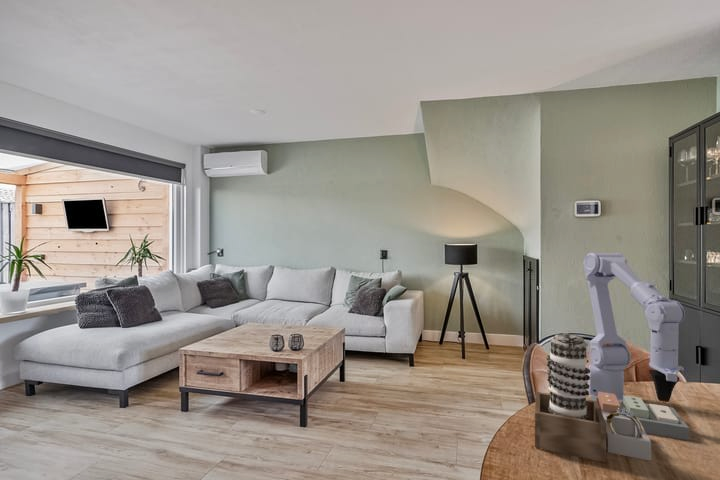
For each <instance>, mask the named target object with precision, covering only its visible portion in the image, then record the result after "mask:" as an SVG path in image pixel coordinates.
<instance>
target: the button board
mask: <svg viewBox="0 0 720 480" xmlns="http://www.w3.org/2000/svg"><path fill="white" fill-rule="evenodd" d="M590 400H593V401H598V396H592V395H591V397H590ZM617 400H618V399H617ZM618 402H619V404H620V406H621V409H623V408H624V406H623V400H618ZM644 404H645V405H646V407H647V408H648V410H649V419H645V418H639V417H636V418H637V419H638V420H639V421H640V423H641V425H642V427H643V428H644V430H645V432H646V434H650V435H656V436H657V435H658V436H662V437H666V438H667V437H668V438H673V439H679V440H683V441H690V427H689V426H688V424H686V422H685V421H684V420H683V418H682V417H681V416H680V414H679V413H678V412H677V410H675V408H674V407H670V406H668V407H669V409H670V410H671V411H672V413H673V414H674V415H675V416H676V418H677V419H678V420H679V423H678V424H675V423H669V422H663V421H657V420H656V418H655V417H654V415H653V414H652V412H651V410H650V409H649V406H650V404H651V403H645V402H644ZM601 412H602V411H601ZM602 414H608V415H610V414H611V413H608V412H602ZM619 416H620V417H626V416H621V415H619ZM626 418H628V417H626Z"/></svg>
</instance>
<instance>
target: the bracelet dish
mask: <svg viewBox="0 0 720 480" xmlns="http://www.w3.org/2000/svg"><path fill="white" fill-rule="evenodd" d="M608 416H609V415H608V414H603V417H604V420H605V423H606V452H607V453H608V454H609V453H610V454H614V455H621V456H625V457H631V458H635V459H639V460H645V461H650V462H651V461H652V441H651V440H650V438H649V436H648V433H646V432H645V430H644V428H643V427H642V433H641V438H636V436H637V428H636V426H635V424H634V422H633V421H632V420H631V419H630V418H626V417H620V416H615V417H613V418H612V421H611V423H612V427H613V429H614V431H615V432H616V433H617V434H613V433H612V431H611V428H610V426H609V423H608V422H607V417H608ZM638 421H639V420H638ZM639 422H640V421H639ZM640 424H641V423H640ZM641 426H642V425H641Z"/></svg>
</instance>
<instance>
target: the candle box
mask: <svg viewBox="0 0 720 480" xmlns="http://www.w3.org/2000/svg"><path fill="white" fill-rule="evenodd" d="M549 406H550V393H547V392H541V391H535V408H534V410H535V411H534V412H535V413H534V448H535V447H537V448H536V449H539V448H542V449H541V450H544V449H546V450H545V451H549V450H550V452H554V453H560V454H563V453H564V455H568V456H574V457H578V458H583V459H588V460H593V461H597V462H603V463H607V448H606V423H605V420H604V417H603V414H602V412H601V409H600V406H599V403H598V401H593V400H591V399H587V398H586V406H587V415H588V420H584V419H578V418H572V417H567V416H561V415H555V414H549V411H548V407H549Z"/></svg>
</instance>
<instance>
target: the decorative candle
mask: <svg viewBox="0 0 720 480" xmlns="http://www.w3.org/2000/svg"><path fill="white" fill-rule="evenodd" d="M549 341H550V352H549V355H547V356H546V361H547V363H546V366H547V367H548V370H547V375H548V376H547V379H546V380H547V382H548V390H549V391H550V393H549V394H550V406H549V407H548V411H549V414H555V415H561V416H567V417H572V418H578V419H584V420H588V415H587V406H586V399H587V397H588V396H590V394H589V391H588V388H589V385H588V384H587V383H588V380H590V377H589V376H588V373H590V370H589V369H588V367H586V365H588V363H590V362H589V359H588V356H587V347H588V346H589V343H588V342H586V341H585V340H584V337H582V336H580V335H578V334H573V333H566V332H564V333H563V332H560V333H556V334H555V335H554V336H553V338H550V340H549ZM586 381H587V382H586Z"/></svg>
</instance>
